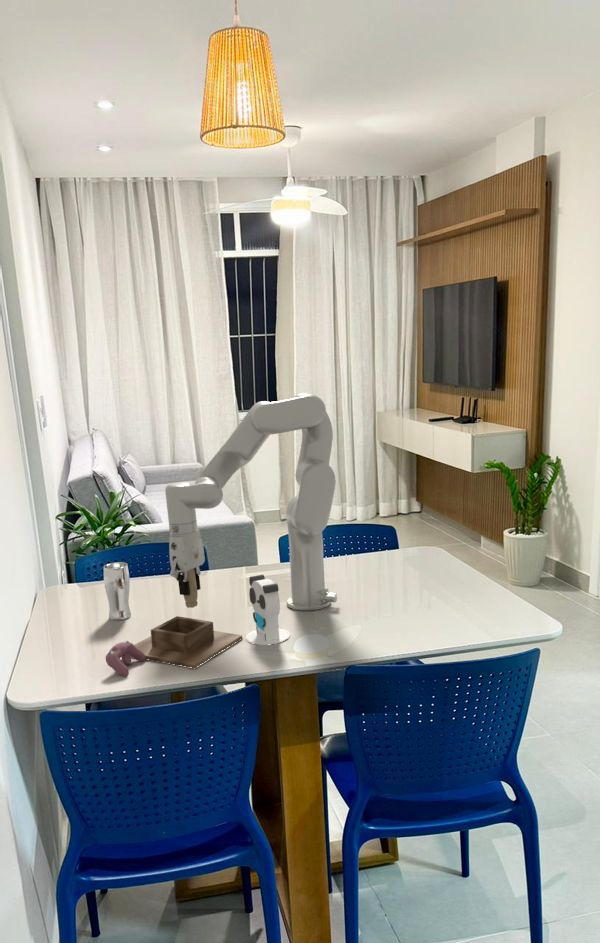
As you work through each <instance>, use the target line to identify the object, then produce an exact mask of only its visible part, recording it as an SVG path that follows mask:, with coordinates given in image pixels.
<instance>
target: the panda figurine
mask: <svg viewBox="0 0 600 943" xmlns="http://www.w3.org/2000/svg"><path fill="white" fill-rule="evenodd" d="M248 583H249V585H250V588H249V600H250V603H251V605H252V609H253V611H254V612H252V618H253V621H254V623H255V627H256V629H254V630H251V631H249V632H248V633H247V634H246V635H245V640H247V641H249V642H250V644H251V643H254V644H258V645H257V646H269V645H268V644H275V643H279V642H282V641H285V640H286V639H288V638H289V637H291V633H290V631H289V630H287V629H284V628H282V627H281V628H280V627H279V615H280V613H281V611H280V610H281V603H280V594H279V585H278V583H275V582H274V581H273V580H271V579H270V578H265V575H264V574H258V575H254V576H253V575H252V576H249V580H248ZM289 639H290V638H289ZM289 639H288V640H289ZM247 641H246V642H247ZM286 641H287V640H286ZM286 641H285V642H286ZM249 642H248V643H249ZM282 643H283V642H282ZM254 644H253V645H254ZM259 644H260V645H259ZM279 644H280V643H279ZM275 645H276V644H275Z"/></svg>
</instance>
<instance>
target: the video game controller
mask: <svg viewBox="0 0 600 943" xmlns="http://www.w3.org/2000/svg"><path fill="white" fill-rule="evenodd" d="M134 645H135V644H134V643H133V642H129V640H126V641H122V642H119V643H116V644H114V645H113V646H112V647H111V648H110V650H109V652H108V653H106V655H105V662H106V664H107V666H108V667H110V668H111V669H112V670H114V671H115V672H116V673H117V674H118V675H120V676H124V677H127V676H128V675H129V668H128V667H127V666H129V665H130V664H131V663H132V658H133V659H134V660H136V661H138V662H144V661H146V659H145V655H144V653H143V652H142V651H141V650H139V649H138V648H137V647H135V646H134Z"/></svg>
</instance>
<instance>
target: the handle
mask: <svg viewBox="0 0 600 943" xmlns="http://www.w3.org/2000/svg"><path fill="white" fill-rule="evenodd" d="M195 558H196V559H197V558H198V553H197V554H195V555H194V559H195ZM181 575H183V572H181ZM187 581H189V587H190V595H183V598H184V601H185V602H184V603H185V606H186V608H191V609H193V608H195V607H197V606H198V601H197V600H198V596H199V595H198V590H197V583H196V577H195V571H194V569H192V570H190V571H187Z"/></svg>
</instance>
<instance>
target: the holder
mask: <svg viewBox="0 0 600 943" xmlns="http://www.w3.org/2000/svg"><path fill="white" fill-rule="evenodd" d="M240 639H242V640H243V635H242V634H237V633H230V632H225V631H220V630H219V631H218V630H215V628H214V622H213V621H210V620H204V619H198V618H191V617H183V616H177V615H176V616H174V617H173V618H171V619H169V620H167V621H165V622H162V623H161V624H159V625H158V626H155V627H153V628H152V629H150V636H148V637H146V638H144V639H143V640H141V641H139V642H137V643H135V644H133V645H134V646H135V647H137V648H138V649H139V650H141V651H142V652H143V653H144V655H145V660H146V659H149V660H148V661H151V660H154V661H153V662H156V661H159V662H158V663H161V662H165V663H164V664H166V663H170V664H169V665H171V664H175V665H174V666H176V665H182V666H186V667H192V668H196V667H197V666H199V665H200V664H202V663H204V662H205V661H207V660H208V659H210V658H211V657H213V656H214V655H216V654H218V653H219V652H221V651H222V650H224V649H226V648H227V647H229V646H231V645H232V644H234V643H235V642H237V641H239V640H240ZM240 641H241V640H240ZM240 641H239V642H240ZM237 643H238V642H237ZM234 645H235V644H234ZM232 646H233V645H232ZM232 646H231V647H232ZM229 648H230V647H229ZM226 650H227V649H226ZM221 653H222V652H221ZM218 655H219V654H218ZM210 660H211V659H210ZM207 662H208V661H207ZM204 664H205V663H204ZM186 667H185V668H186ZM199 667H200V666H199ZM196 669H197V668H196Z"/></svg>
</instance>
